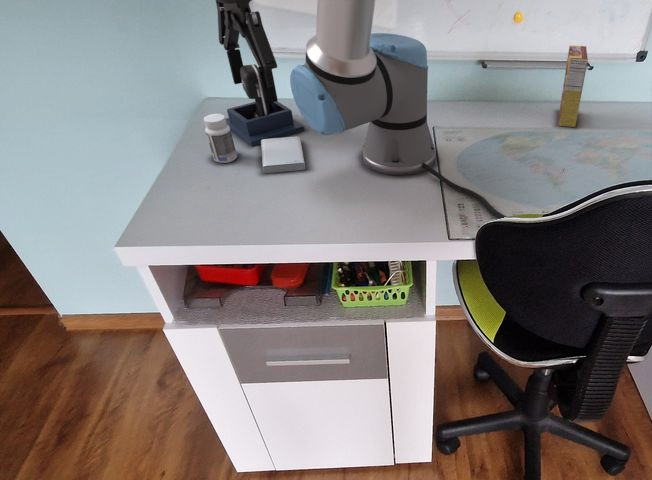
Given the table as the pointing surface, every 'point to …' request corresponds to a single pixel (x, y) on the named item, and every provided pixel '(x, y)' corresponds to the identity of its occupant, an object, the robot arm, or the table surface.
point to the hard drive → (282, 154)
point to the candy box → (573, 85)
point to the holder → (262, 123)
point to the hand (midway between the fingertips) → (255, 92)
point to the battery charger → (254, 89)
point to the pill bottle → (220, 138)
